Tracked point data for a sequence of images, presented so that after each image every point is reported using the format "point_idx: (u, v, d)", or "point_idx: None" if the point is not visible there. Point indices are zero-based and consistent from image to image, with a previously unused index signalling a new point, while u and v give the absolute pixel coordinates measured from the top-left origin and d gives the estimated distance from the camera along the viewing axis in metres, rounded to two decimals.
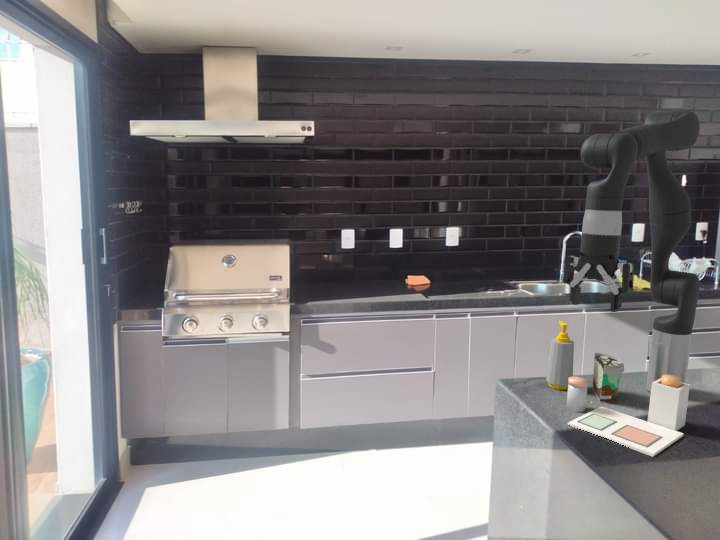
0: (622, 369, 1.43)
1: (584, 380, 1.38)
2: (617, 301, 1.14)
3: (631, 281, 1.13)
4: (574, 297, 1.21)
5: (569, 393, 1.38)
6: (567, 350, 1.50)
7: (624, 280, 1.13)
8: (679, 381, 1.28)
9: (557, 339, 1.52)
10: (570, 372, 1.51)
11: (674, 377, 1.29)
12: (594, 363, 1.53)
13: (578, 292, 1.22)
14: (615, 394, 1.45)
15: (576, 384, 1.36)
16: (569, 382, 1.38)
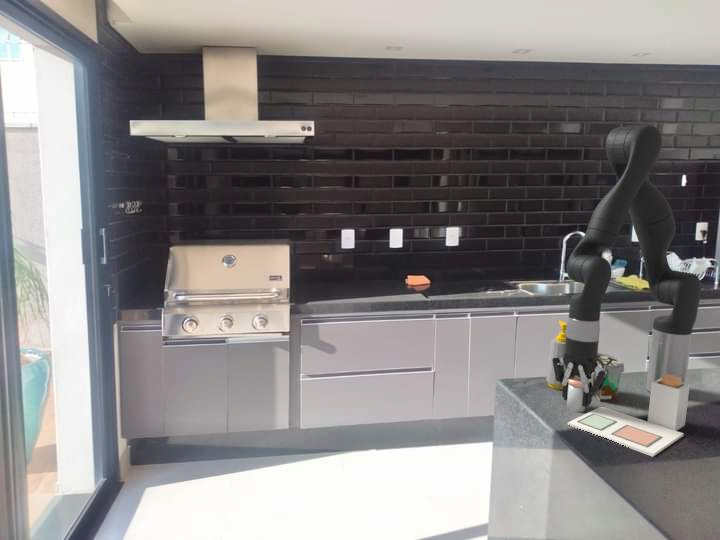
0: (622, 369, 1.43)
1: None
2: (588, 398, 1.36)
3: (601, 383, 1.34)
4: (566, 394, 1.40)
5: (569, 393, 1.38)
6: None
7: (595, 383, 1.33)
8: (679, 381, 1.28)
9: (557, 339, 1.52)
10: None
11: (674, 377, 1.29)
12: None
13: None
14: (615, 394, 1.45)
15: (576, 384, 1.36)
16: (569, 382, 1.38)
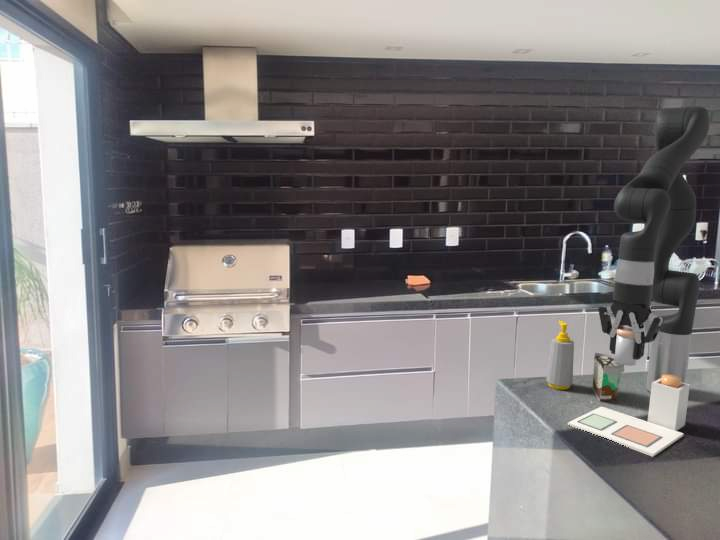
0: (622, 369, 1.43)
1: None
2: (640, 350, 1.21)
3: (656, 333, 1.20)
4: (614, 347, 1.25)
5: (618, 345, 1.24)
6: (567, 350, 1.50)
7: (649, 332, 1.19)
8: (679, 381, 1.28)
9: (557, 339, 1.52)
10: (570, 372, 1.51)
11: (674, 377, 1.29)
12: (594, 363, 1.53)
13: None
14: (615, 394, 1.45)
15: (626, 334, 1.22)
16: (618, 332, 1.23)
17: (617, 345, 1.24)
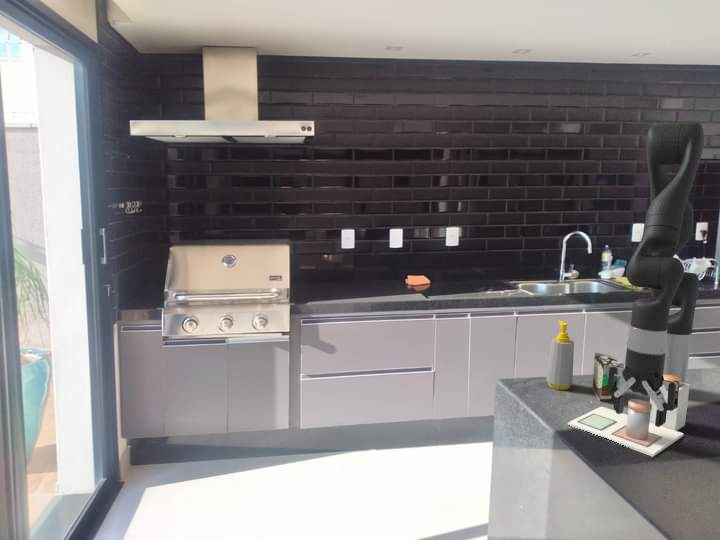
0: None
1: (646, 403, 1.22)
2: (662, 417, 1.18)
3: (676, 399, 1.17)
4: (618, 407, 1.25)
5: (630, 418, 1.22)
6: (567, 350, 1.50)
7: (669, 399, 1.16)
8: (679, 381, 1.28)
9: (557, 339, 1.52)
10: (570, 372, 1.51)
11: (674, 377, 1.29)
12: (594, 363, 1.53)
13: (621, 401, 1.25)
14: None
15: (639, 409, 1.20)
16: (630, 406, 1.22)
17: (629, 418, 1.22)
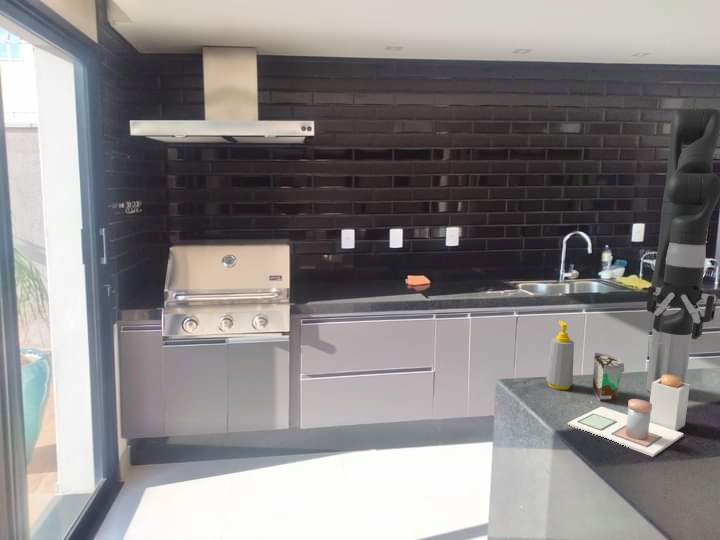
0: (622, 369, 1.43)
1: (646, 403, 1.22)
2: (698, 329, 1.24)
3: (713, 311, 1.22)
4: (658, 325, 1.30)
5: (630, 418, 1.22)
6: (567, 350, 1.50)
7: (707, 311, 1.22)
8: (679, 381, 1.28)
9: (557, 339, 1.52)
10: (570, 372, 1.51)
11: (674, 377, 1.29)
12: (594, 363, 1.53)
13: (661, 320, 1.30)
14: (615, 394, 1.45)
15: (639, 409, 1.20)
16: (630, 406, 1.22)
17: (629, 418, 1.22)
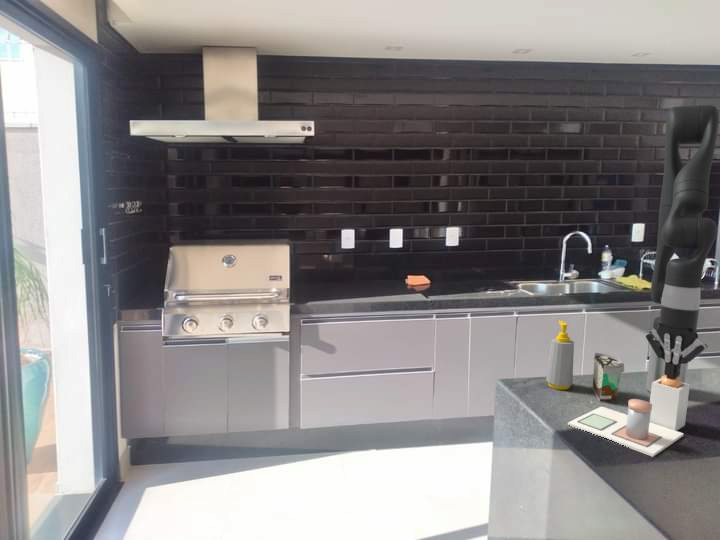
0: (622, 369, 1.43)
1: (646, 403, 1.22)
2: (676, 370, 1.28)
3: (694, 356, 1.26)
4: (669, 372, 1.29)
5: (630, 418, 1.22)
6: (567, 350, 1.50)
7: (689, 355, 1.25)
8: (679, 382, 1.28)
9: (557, 339, 1.52)
10: (570, 372, 1.51)
11: None
12: (594, 363, 1.53)
13: None
14: (615, 394, 1.45)
15: (639, 409, 1.20)
16: (630, 406, 1.22)
17: (629, 418, 1.22)
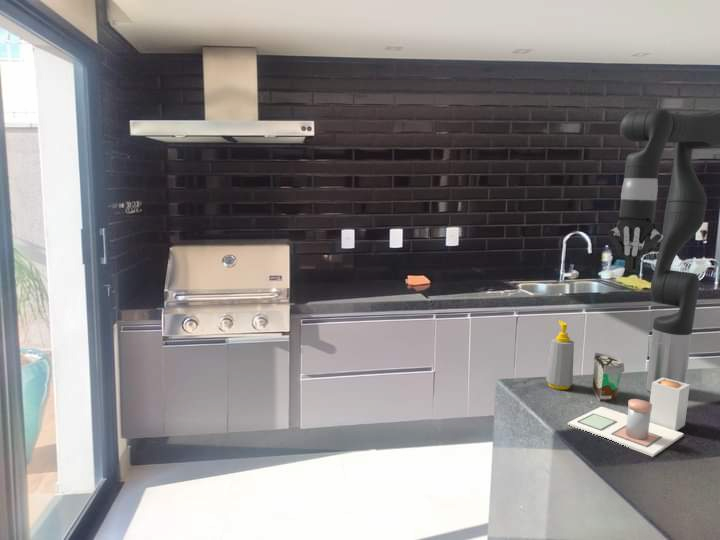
0: (622, 369, 1.43)
1: (646, 403, 1.22)
2: (635, 262, 1.31)
3: (652, 247, 1.30)
4: (629, 264, 1.32)
5: (630, 418, 1.22)
6: (567, 350, 1.50)
7: (647, 245, 1.29)
8: (678, 387, 1.28)
9: (557, 339, 1.52)
10: (570, 372, 1.51)
11: (673, 383, 1.30)
12: (594, 363, 1.53)
13: None
14: (615, 394, 1.45)
15: (639, 409, 1.20)
16: (630, 406, 1.22)
17: (629, 418, 1.22)
